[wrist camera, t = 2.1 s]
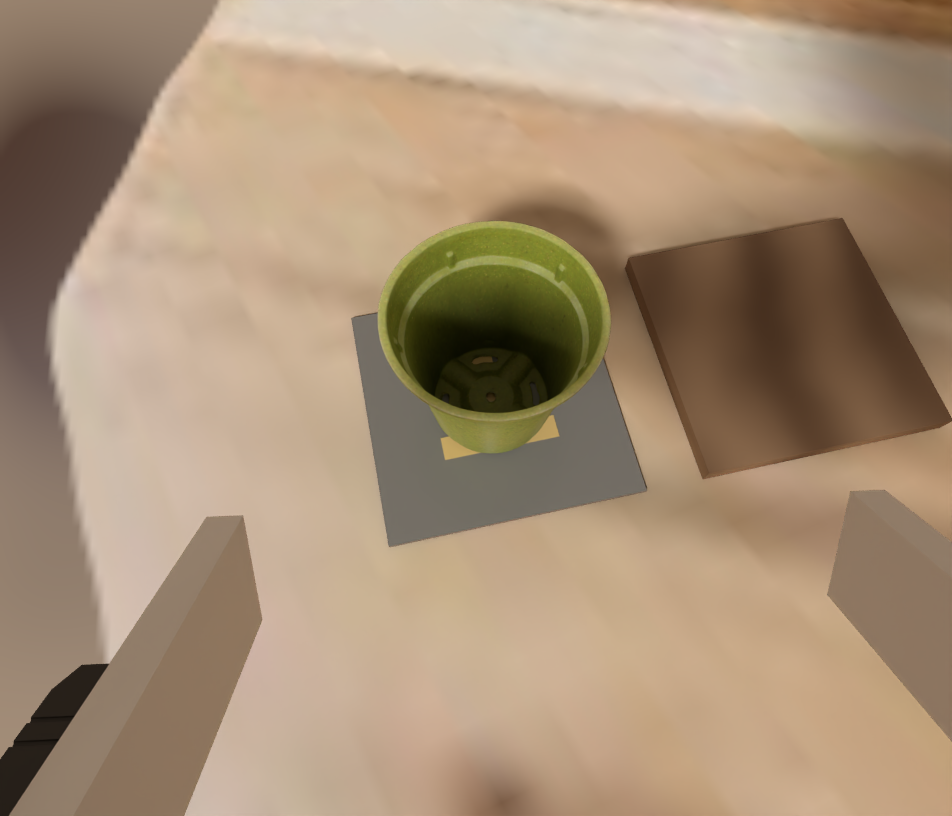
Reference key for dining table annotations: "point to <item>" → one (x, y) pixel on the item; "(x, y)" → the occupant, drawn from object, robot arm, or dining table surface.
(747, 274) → the walnut board
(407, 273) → the plant pot
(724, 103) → the dining table surface
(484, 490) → the slate mat
